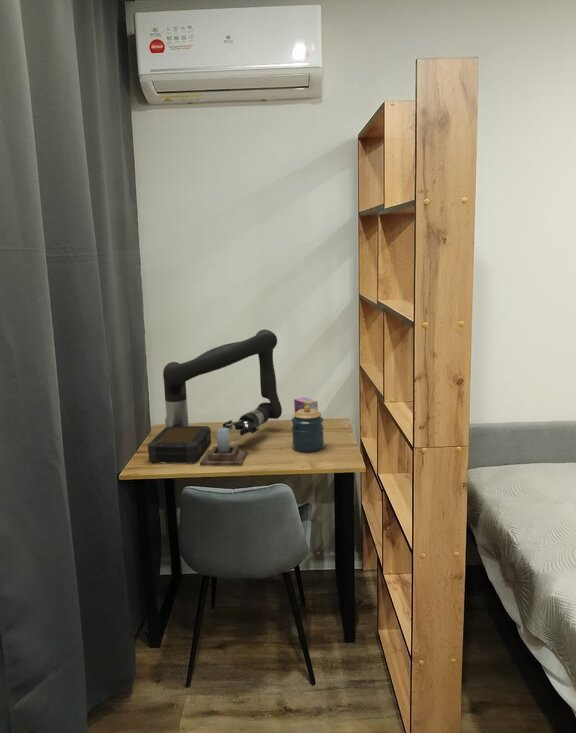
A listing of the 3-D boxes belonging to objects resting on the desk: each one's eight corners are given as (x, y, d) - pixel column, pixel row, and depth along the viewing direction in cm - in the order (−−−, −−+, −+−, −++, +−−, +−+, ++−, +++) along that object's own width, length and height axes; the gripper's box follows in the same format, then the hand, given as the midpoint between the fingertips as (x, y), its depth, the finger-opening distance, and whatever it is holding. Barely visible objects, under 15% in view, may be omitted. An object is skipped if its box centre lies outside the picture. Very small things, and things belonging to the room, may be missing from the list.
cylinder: (216, 457, 237) (214, 430, 235) (222, 453, 241) (220, 427, 239) (226, 459, 235) (224, 431, 233) (232, 455, 239) (230, 428, 237)
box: (294, 423, 281) (293, 398, 279) (304, 421, 285) (303, 396, 282) (308, 428, 273) (308, 403, 271) (318, 426, 277) (317, 400, 274)
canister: (322, 453, 241) (321, 410, 238) (290, 452, 243) (288, 410, 240) (325, 442, 254) (324, 401, 250) (295, 441, 256) (293, 401, 252)
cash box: (166, 442, 262) (164, 425, 260) (212, 442, 259) (211, 425, 258) (146, 463, 237) (144, 444, 236) (197, 464, 235) (195, 445, 233)
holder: (200, 465, 232) (199, 456, 232) (208, 453, 246) (207, 444, 245) (241, 465, 231) (240, 456, 230) (247, 453, 244) (247, 444, 243)
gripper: (236, 410, 259) (215, 421, 245) (266, 413, 252) (246, 424, 238) (237, 427, 260) (217, 439, 246) (266, 431, 254) (247, 443, 240)
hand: (231, 432), depth 242 cm, fingers open, 8 cm apart
